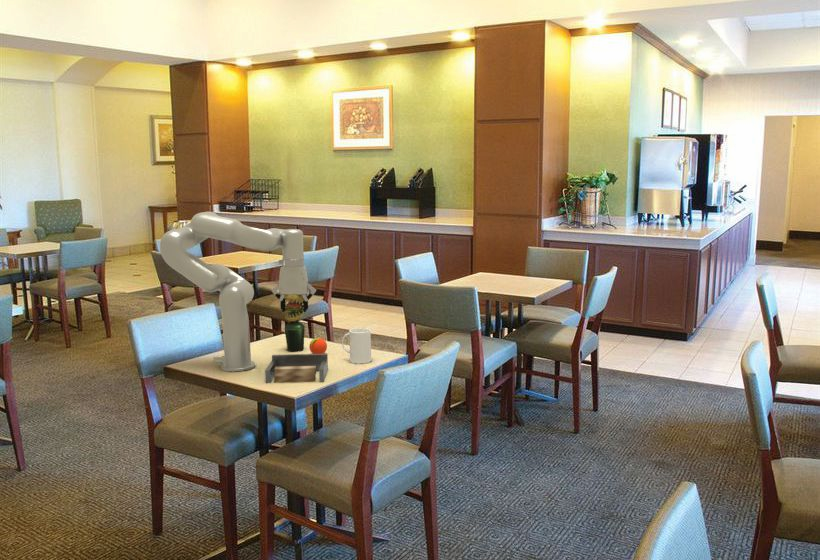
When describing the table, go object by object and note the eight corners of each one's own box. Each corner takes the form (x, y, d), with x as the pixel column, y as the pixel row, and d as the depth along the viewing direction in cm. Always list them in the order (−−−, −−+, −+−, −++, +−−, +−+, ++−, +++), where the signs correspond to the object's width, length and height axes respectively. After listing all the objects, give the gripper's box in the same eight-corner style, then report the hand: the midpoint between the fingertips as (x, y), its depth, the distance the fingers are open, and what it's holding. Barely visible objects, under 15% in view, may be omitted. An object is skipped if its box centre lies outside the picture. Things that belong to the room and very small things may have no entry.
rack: (265, 383, 240) (265, 366, 239) (273, 370, 254) (272, 354, 254) (323, 381, 240) (323, 364, 239) (328, 369, 255) (327, 353, 254)
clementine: (318, 358, 270) (317, 340, 269) (304, 356, 273) (303, 339, 272) (330, 353, 277) (330, 336, 276) (316, 351, 280) (316, 334, 279)
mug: (338, 361, 265) (337, 331, 263) (348, 356, 273) (347, 326, 271) (365, 364, 260) (364, 333, 258) (375, 359, 268) (374, 328, 266)
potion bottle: (286, 347, 287) (284, 305, 284) (306, 347, 288) (304, 304, 285) (284, 352, 279) (282, 309, 276) (305, 352, 280) (303, 308, 277)
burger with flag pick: (280, 320, 254) (279, 288, 252) (291, 317, 260) (291, 285, 258) (297, 322, 250) (296, 290, 249) (308, 319, 257) (308, 287, 255)
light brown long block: (274, 383, 240) (273, 369, 239) (275, 380, 243) (275, 366, 242) (315, 382, 241) (315, 368, 240) (316, 379, 243) (316, 365, 243)
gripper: (267, 264, 249) (268, 313, 251) (315, 264, 248) (316, 313, 251) (271, 261, 256) (273, 309, 259) (318, 262, 256) (319, 309, 258)
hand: (294, 310), depth 255 cm, fingers closed on burger with flag pick, 7 cm apart
